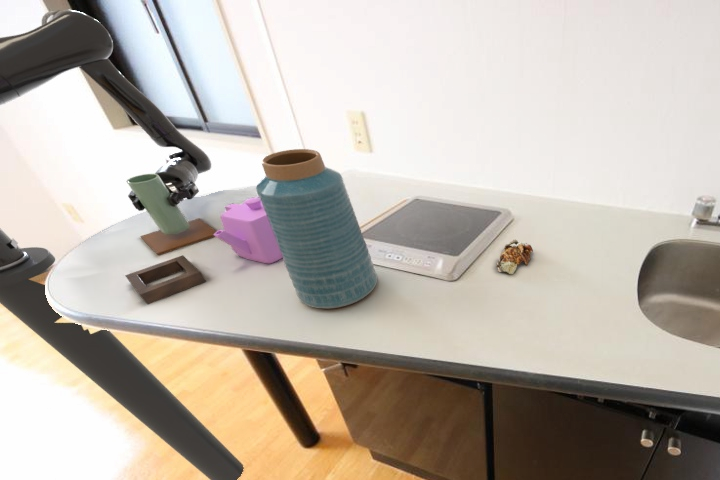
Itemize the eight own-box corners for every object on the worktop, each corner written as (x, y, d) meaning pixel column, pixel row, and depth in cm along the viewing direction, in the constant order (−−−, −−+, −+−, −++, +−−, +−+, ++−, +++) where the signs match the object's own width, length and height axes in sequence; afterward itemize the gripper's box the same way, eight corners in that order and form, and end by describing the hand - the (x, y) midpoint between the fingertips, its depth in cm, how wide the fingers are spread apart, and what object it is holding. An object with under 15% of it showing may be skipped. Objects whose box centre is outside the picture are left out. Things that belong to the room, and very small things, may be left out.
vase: (366, 312, 72) (320, 174, 54) (285, 312, 72) (212, 173, 54) (386, 268, 84) (355, 142, 66) (317, 267, 84) (266, 142, 66)
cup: (166, 237, 91) (130, 185, 82) (158, 229, 94) (123, 179, 85) (193, 228, 95) (162, 177, 86) (185, 221, 98) (154, 171, 89)
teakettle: (308, 227, 99) (290, 181, 91) (312, 256, 88) (292, 206, 80) (238, 240, 94) (212, 193, 86) (234, 272, 83) (203, 221, 74)
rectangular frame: (147, 304, 74) (139, 294, 72) (132, 284, 79) (124, 275, 78) (206, 281, 80) (200, 271, 79) (189, 264, 85) (182, 255, 84)
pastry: (492, 271, 82) (491, 258, 80) (507, 247, 91) (507, 233, 88) (521, 277, 81) (522, 263, 78) (534, 251, 89) (535, 238, 87)
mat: (158, 255, 88) (156, 253, 88) (141, 238, 95) (140, 236, 95) (219, 234, 96) (218, 232, 96) (200, 220, 103) (199, 218, 103)
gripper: (133, 170, 95) (107, 193, 83) (196, 163, 98) (179, 185, 87) (152, 198, 100) (130, 223, 88) (211, 191, 104) (197, 215, 92)
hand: (154, 204), depth 88 cm, fingers closed on cup, 6 cm apart
